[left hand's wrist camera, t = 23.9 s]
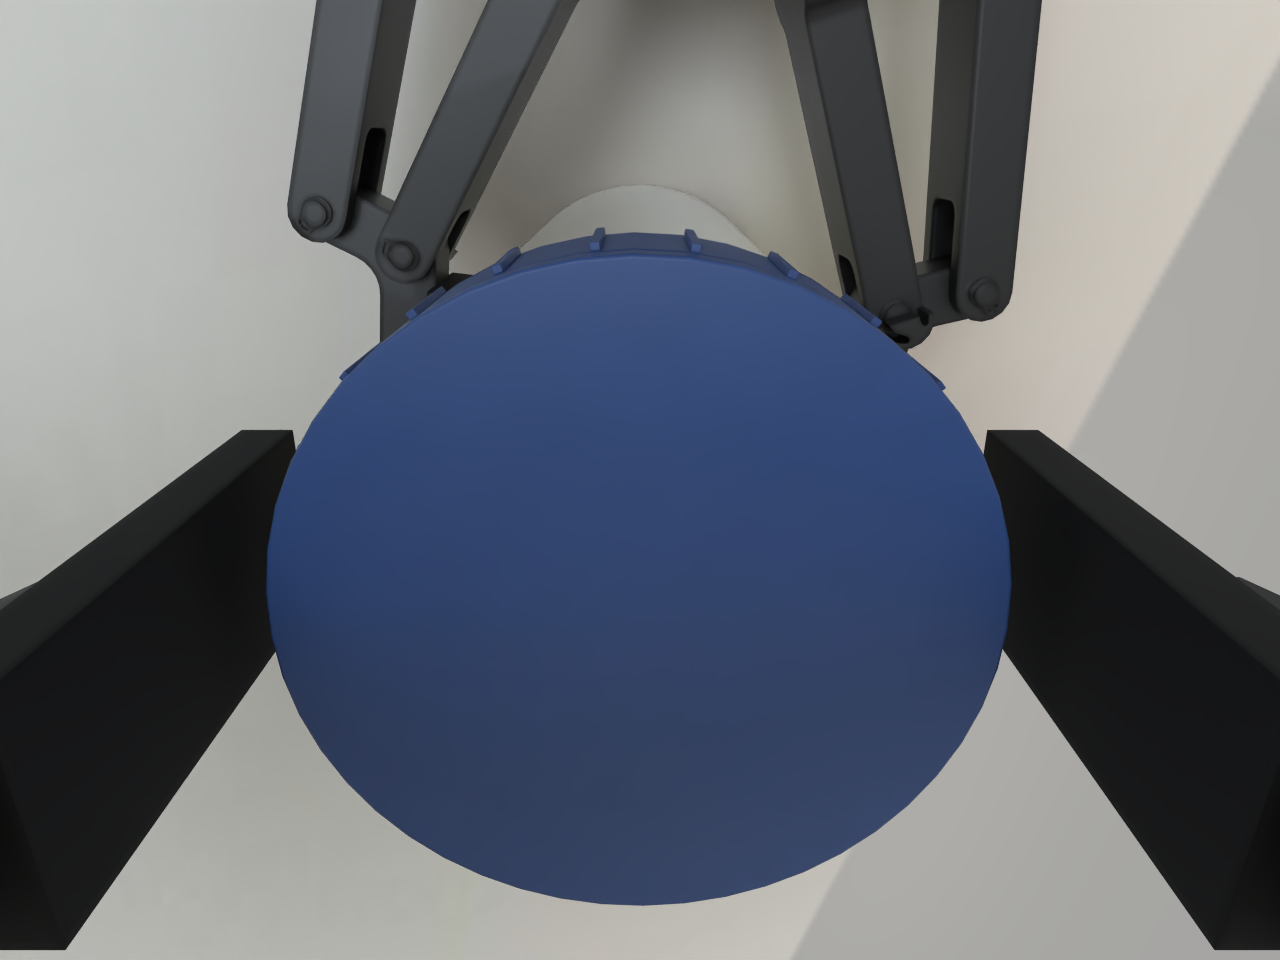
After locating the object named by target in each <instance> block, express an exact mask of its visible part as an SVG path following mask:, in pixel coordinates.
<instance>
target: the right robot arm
mask: <svg viewBox="0 0 1280 960" xmlns="http://www.w3.org/2000/svg"><path fill="white" fill-rule="evenodd" d="M774 1H775V6H776V10H777V14H778V17H779V20H780V23H781V25H782V27H783V28H784V31H785V34H786V38H787V42H788V47H789V51H790V56H791V60H792V65H793V70H794V74H795V79H796V83H797V88H798V93H799V97H800V102H801V106H802V111H803V115H804V120H805V125H806V129H807V134H808V138H809V143H810V147H811V152H812V157H813V161H814V166H815V170H816V175H817V179H818V184H819V189H820V193H821V198H822V202H823V207H824V212H825V216H826V221H827V225H828V230H829V234H830V239H831V244H832V248H833V253H834V257H835V262H836V266H837V271H838V276H839V280H840V285H841V289H842V294H843V295H844V294H845V293H846V294H847V295H849V296H850V297H851V298H852V299H854V300H855V301H856V302H858V303H859V304H860V305H861V306H863V307H864V308H865V309H867V310H868V311H869V312H870V313H872V314H873V315H874V316H876V317H877V318H878V319H879V320H881V321H882V323H881V324H880V326H879V327H878V329H879V330H881V331H882V332H883V333H884V334H886V335H887V336H888V337H889V338H890V339H892V340H893V341H894V342H895V343H896V344H897V345H898V346H899V347H900V348H901V349H902V350H904V351H905V352H906V353H907V351H908V349H909V348H913V347H915V346H917V345H919V344H921V343H922V342H923V341H924V340H925V339H926V338H927V337H928V336H929V335H930V332H931V330H932V328H933V327H935V326H938V325H942V324H947V323H951V322H956V321H960V320H964V319H970V320H974V321H981V322H982V321H986V320H990V319H993V318H994V317H996V316H997V315H999V314H1000V313H1002V312H1003V310H1004V309H1005V308H1006V306H1007V305H1008V304H1009V301H1010V298H1011V295H1012V289H1013V279H1014V270H1015V260H1016V250H1017V240H1018V230H1019V220H1020V210H1021V201H1022V191H1023V181H1024V171H1025V161H1026V151H1027V142H1028V132H1029V122H1030V112H1031V102H1032V92H1033V82H1034V73H1035V63H1036V53H1037V43H1038V33H1039V23H1040V14H1041V4H1042V0H939V16H938V32H937V48H936V64H935V80H934V96H933V112H932V128H931V144H930V160H929V176H928V192H927V208H926V224H925V240H924V256H923V261H922V262H918V263H915V258H914V253H913V248H912V242H911V237H910V231H909V226H908V221H907V215H906V210H905V204H904V199H903V193H902V188H901V183H900V177H899V172H898V166H897V161H896V156H895V150H894V145H893V139H892V134H891V128H890V123H889V118H888V112H887V107H886V101H885V96H884V91H883V85H882V80H881V74H880V69H879V63H878V58H877V53H876V47H875V42H874V36H873V31H872V26H871V20H870V15H869V9H868V3H867V0H774ZM578 2H579V0H488V2H487V4H486V6H485V8H484V10H483V12H482V15H481V17H480V19H479V21H478V23H477V25H476V28H475V30H474V32H473V34H472V36H471V38H470V40H469V43H468V45H467V47H466V49H465V51H464V53H463V56H462V58H461V60H460V62H459V64H458V66H457V69H456V71H455V73H454V75H453V77H452V79H451V82H450V84H449V86H448V88H447V90H446V92H445V94H444V97H443V99H442V101H441V103H440V105H439V107H438V110H437V112H436V114H435V116H434V118H433V120H432V123H431V125H430V127H429V129H428V131H427V133H426V136H425V138H424V140H423V142H422V144H421V146H420V148H419V151H418V153H417V155H416V157H415V159H414V161H413V164H412V166H411V168H410V170H409V172H408V174H407V177H406V179H405V181H404V183H403V185H402V187H401V190H400V192H399V194H398V196H397V198H396V200H395V201H393V200H391V199H389V198H387V197H385V196H383V195H381V191H382V185H383V180H384V174H385V169H386V163H387V158H388V152H389V147H390V141H391V136H392V130H393V125H394V119H395V114H396V108H397V103H398V97H399V92H400V87H401V81H402V76H403V70H404V65H405V59H406V54H407V48H408V43H409V37H410V32H411V26H412V21H413V15H414V10H415V4H416V0H317V2H316V9H315V16H314V23H313V30H312V37H311V44H310V51H309V57H308V64H307V71H306V78H305V85H304V92H303V99H302V106H301V113H300V120H299V127H298V134H297V141H296V148H295V155H294V162H293V169H292V176H291V183H290V190H289V196H288V203H287V206H288V217H289V219H290V222H291V224H292V226H293V228H294V229H295V230H296V231H297V232H298V233H299V234H300V235H301V236H302V237H304V238H306V239H308V240H310V241H312V242H322V243H324V242H327V243H329V244H331V245H333V246H335V247H337V248H339V249H341V250H343V251H345V252H347V253H349V254H351V255H353V256H356V257H357V258H359V259H360V260H362V261H364V262H365V263H366V264H367V265H368V266H369V267H370V268H371V269H372V271H373V273H374V274H375V276H376V278H377V280H378V283H379V287H380V342H383V341H384V340H386V339H387V338H388V337H389V336H391V335H392V334H393V333H394V332H396V331H397V330H398V329H399V328H400V327H402V326H403V325H404V324H405V323H407V322H408V321H409V320H410V319H409V318H408V317H407V316H406V313H407V312H408V311H410V310H411V309H412V308H414V307H415V306H416V305H417V304H419V303H420V302H421V301H423V300H424V299H425V298H427V297H428V296H429V295H430V294H432V293H433V292H434V291H436V290H437V289H438V288H440V287H441V286H442V287H443V288H444V289H445V291H446V292H447V291H449V290H450V289H451V288H453V287H454V286H455V285H457V284H458V283H460V282H462V281H464V280H466V279H467V278H469V277H471V276H473V275H469V274H460V273H451V274H450V275H449V260H451V259H452V258H453V257H454V255H455V254H456V253H457V252H458V251H456V250H455V248H456V246H457V244H458V242H459V240H460V238H461V235H462V233H463V231H464V229H465V227H466V225H467V223H468V221H469V219H470V217H471V215H472V213H473V211H474V209H475V207H476V205H477V203H478V201H479V199H480V197H481V195H482V193H483V191H484V189H485V187H486V185H487V183H488V181H489V179H490V177H491V175H492V173H493V171H494V169H495V167H496V165H497V163H498V161H499V159H500V157H501V155H502V153H503V151H504V149H505V147H506V145H507V143H508V141H509V139H510V137H511V135H512V133H513V131H514V129H515V127H516V125H517V123H518V121H519V119H520V117H521V115H522V113H523V111H524V109H525V107H526V105H527V103H528V101H529V99H530V97H531V95H532V93H533V91H534V89H535V87H536V85H537V83H538V81H539V79H540V77H541V75H542V73H543V71H544V69H545V67H546V65H547V63H548V61H549V59H550V57H551V55H552V53H553V51H554V49H555V47H556V45H557V43H558V41H559V39H560V36H561V34H562V32H563V30H564V28H565V26H566V24H567V22H568V20H569V18H570V16H571V14H572V12H573V10H574V9H575V7H576V5H577V3H578Z"/></svg>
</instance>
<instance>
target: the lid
mask: <svg viewBox="0 0 1280 960" xmlns="http://www.w3.org/2000/svg"><path fill="white" fill-rule="evenodd" d="M406 316H407V317H408V318H409V319H410V320H409V321H408V322H407V323H405V324H404V325H403V326H402V327H400V328H399V329H398V330H397V331H396V332H394V333H393V334H392V335H391V336H389V337H388V338H387V339H386V340H384V341H383V342H380V343H379V344H378V345H376V346H375V347H374V348H373V349H371V350H370V351H369V352H368V353H366V354H365V355H364V356H363V357H361V358H360V359H359V360H358V361H356V362H355V363H354V364H353V365H351V366H350V367H349V368H348V369H346V370H345V371H344V372H343V373H342V375H341V376H340V377H339V378H340V379H341V380H342V382H341V383H340V385H339V386H338V387H337V389H336V390H335V391H334V393H333V394H332V395H331V397H330V398H329V399H328V401H327V402H326V403H325V405H324V406H323V407H322V409H321V410H320V411H319V413H318V414H317V415H316V417H315V418H314V419H313V421H312V423H311V424H310V426H309V428H308V430H307V432H306V434H305V436H304V438H303V440H302V441H301V443H300V444H299V445H298V447H297V450H296V453H295V455H294V456H293V458H292V460H291V462H290V465H289V468H288V470H287V473H286V476H285V479H284V482H283V485H282V488H281V491H280V493H279V496H278V499H277V502H276V505H275V510H274V515H273V521H272V526H271V532H270V537H269V543H268V548H267V579H266V597H267V605H268V613H269V621H270V629H271V636H272V640H273V644H274V647H275V651H276V654H277V658H278V662H279V665H280V669H281V672H282V676H283V679H284V681H285V683H286V685H287V688H288V690H289V692H290V695H291V697H292V699H293V702H294V704H295V706H296V708H297V711H298V713H299V715H300V717H301V718H302V720H303V722H304V723H305V725H306V727H307V728H308V730H309V732H310V733H311V735H312V736H313V738H314V740H315V741H316V743H317V745H318V746H319V748H320V750H321V751H322V752H323V753H324V755H325V756H326V757H327V758H328V760H329V761H330V762H331V763H332V765H333V766H334V767H335V768H336V770H337V771H338V772H339V773H340V775H341V776H342V777H343V778H344V780H345V781H346V782H347V783H348V784H349V785H350V786H351V787H352V788H353V789H354V790H355V791H356V792H357V793H358V794H359V795H360V796H361V797H362V798H363V799H364V800H365V801H366V802H367V803H368V804H369V805H370V806H371V807H372V808H373V809H374V810H375V811H377V812H378V813H379V814H381V815H382V816H383V817H384V818H386V819H387V820H388V821H390V822H391V823H392V824H393V825H395V826H396V827H397V828H399V829H400V830H401V831H403V832H404V833H405V834H406V835H408V836H409V837H411V838H412V839H414V840H416V841H417V842H419V843H421V844H422V845H424V846H426V847H427V848H429V849H431V850H432V851H434V852H435V853H437V854H439V855H440V856H442V857H444V858H446V859H448V860H450V861H452V862H454V863H456V864H459V865H461V866H463V867H465V868H467V869H469V870H471V871H474V872H476V873H478V874H480V875H482V876H485V877H488V878H491V879H494V880H497V881H500V882H502V883H505V884H508V885H511V886H514V887H517V888H520V889H523V890H528V891H532V892H536V893H540V894H544V895H549V896H553V897H557V898H561V899H569V900H576V901H583V902H591V903H598V904H614V905H640V906H645V905H662V904H679V903H689V902H695V901H702V900H708V899H714V898H721V897H726V896H730V895H734V894H738V893H742V892H746V891H749V890H753V889H757V888H761V887H765V886H768V885H770V884H773V883H776V882H778V881H781V880H784V879H786V878H789V877H792V876H795V875H797V874H800V873H803V872H805V871H807V870H809V869H811V868H813V867H815V866H817V865H819V864H821V863H823V862H825V861H827V860H829V859H831V858H833V857H835V856H837V855H839V854H841V853H843V852H844V851H846V850H848V849H849V848H851V847H852V846H854V845H855V844H857V843H859V842H860V841H862V840H863V839H865V838H866V837H868V836H869V835H871V834H873V833H874V832H876V831H877V830H878V829H880V828H881V827H882V826H883V825H884V824H886V823H887V822H888V821H889V820H891V819H892V818H893V817H894V816H896V815H897V814H898V813H899V812H900V811H902V810H903V809H904V808H905V807H907V806H908V805H909V804H910V803H911V802H912V801H913V800H914V799H915V798H916V797H917V796H918V795H919V794H920V793H921V792H922V790H924V788H925V787H926V786H927V785H928V784H929V783H930V782H931V781H932V780H933V779H934V778H935V777H936V776H937V775H938V774H939V772H940V771H941V770H942V768H943V767H944V766H945V764H946V763H947V762H948V760H949V759H950V758H951V756H952V755H953V754H954V752H955V751H956V750H957V749H958V747H959V746H960V745H961V743H962V741H963V740H964V738H965V736H966V734H967V733H968V731H969V729H970V727H971V726H972V724H973V722H974V720H975V719H976V717H977V715H978V713H979V712H980V710H981V708H982V706H983V704H984V701H985V699H986V696H987V694H988V691H989V689H990V686H991V684H992V681H993V679H994V676H995V674H996V671H997V669H998V665H999V661H1000V657H1001V653H1002V649H1003V645H1004V640H1005V636H1006V632H1007V628H1008V618H1009V607H1010V597H1011V586H1012V583H1011V566H1010V548H1009V538H1008V533H1007V529H1006V524H1005V520H1004V515H1003V510H1002V506H1001V501H1000V497H999V494H998V491H997V489H996V486H995V484H994V481H993V478H992V476H991V473H990V471H989V468H988V465H987V463H986V460H985V458H984V455H983V453H982V451H981V449H980V448H979V446H978V444H977V442H976V441H975V439H974V437H973V435H972V434H971V432H970V430H969V428H968V427H967V425H966V423H965V422H964V420H963V418H962V416H961V415H960V413H959V411H958V410H957V409H956V408H955V406H954V405H953V404H952V403H951V401H950V400H949V399H948V398H947V396H946V395H945V394H944V393H943V391H942V390H944V389H945V388H946V387H945V386H944V384H943V383H942V382H941V381H940V380H939V379H938V378H937V377H935V376H934V375H933V374H932V373H931V372H929V371H928V370H927V369H926V368H924V367H923V366H922V365H921V364H920V363H918V362H917V361H916V360H915V359H913V358H912V357H911V356H910V355H909V354H907V353H906V352H905V351H904V350H902V349H901V348H900V347H899V346H898V345H897V344H896V343H895V342H894V341H893V340H892V339H890V338H889V337H888V336H887V335H886V334H884V333H883V332H882V331H881V330H879V329H878V327H879V326H880V324H881V323H882V321H881V320H879V319H878V318H877V317H876V316H874V315H873V314H872V313H870V312H869V311H868V310H867V309H865V308H864V307H863V306H861V305H860V304H859V303H858V302H856V301H855V300H854V299H852V298H851V297H850V296H849V295H847V294H846V293H845V294H844V295H843V296H842V297H841V299H840V298H839V297H837V296H836V295H834V294H833V293H832V292H830V291H829V290H827V289H826V288H824V287H823V286H821V285H820V284H819V283H817V282H816V281H814V280H813V279H811V278H809V277H807V276H805V275H803V274H801V273H799V272H798V271H797V270H796V269H794V268H793V267H792V266H791V265H790V264H789V263H788V262H786V261H785V260H784V259H783V258H782V257H781V256H780V255H778V254H777V253H774V252H772V251H771V252H770V253H769V256H768V257H765V256H762V255H759V254H757V253H754V252H751V251H748V250H745V249H742V248H739V247H736V246H733V245H730V244H727V243H722V242H716V241H711V240H706V239H701V238H698V237H697V235H696V233H695V231H694V230H691V229H685V233H684V235H677V234H658V233H640V232H630V233H618V234H606V235H605V227H602V228H596V229H595V232H594V234H593V236H585V237H580V238H576V239H571V240H567V241H562V242H558V243H553V244H549V245H544V246H540V247H537V248H535V249H532V250H529V251H527V252H524V253H521V252H520V249H519V247H516V248H513V249H511V250H510V251H509V252H507V253H506V254H505V255H504V256H503V257H502V258H501V259H500V260H498V261H497V262H496V263H495V264H493V265H492V266H490V267H488V268H486V269H484V270H482V271H480V272H479V273H477V274H475V275H473V276H471V277H469V278H467V279H466V280H464V281H462V282H460V283H458V284H457V285H455V286H454V287H453V288H451V289H450V290H449V291H447V292H446V291H445V289H444V288H443V287H442V286H441V287H440V288H438V289H437V290H436V291H434V292H433V293H432V294H430V295H429V296H428V297H427V298H425V299H424V300H423V301H421V302H420V303H419V304H417V305H416V306H415V307H414V308H412V309H411V310H410V311H408V312H407V313H406Z"/></svg>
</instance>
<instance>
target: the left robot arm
mask: <svg viewBox="0 0 1280 960" xmlns="http://www.w3.org/2000/svg"><path fill="white" fill-rule="evenodd" d="M295 453H296V449H295V442H294V436H293V430H241V431H240V432H239V433H237V434H236V435H235V436H233V437H232V438H230V439H229V440H228V441H226V442H225V443H224V444H222V445H221V446H220V447H218V448H217V449H216V450H214V451H213V452H212V453H210V454H209V455H208V456H206V457H205V458H204V459H202V460H201V461H200V462H198V463H197V464H196V465H194V466H193V467H192V468H190V469H189V470H188V471H186V472H185V473H183V474H182V475H181V476H179V477H178V478H177V479H175V480H174V481H173V482H171V483H170V484H169V485H167V486H166V487H165V488H163V489H162V490H161V491H159V492H158V493H157V494H155V495H154V496H153V497H151V498H150V499H149V500H147V501H146V502H145V503H143V504H142V505H140V506H139V507H138V508H136V509H135V510H134V511H132V512H131V513H130V514H128V515H127V516H126V517H124V518H123V519H122V520H120V521H119V522H118V523H116V524H115V525H114V526H112V527H111V528H110V529H108V530H107V531H106V532H104V533H103V534H102V535H100V536H99V537H98V538H96V539H95V540H93V541H92V542H91V543H89V544H88V545H87V546H85V547H84V548H83V549H81V550H80V551H79V552H77V553H76V554H75V555H73V556H72V557H71V558H69V559H68V560H67V561H65V562H64V563H63V564H61V565H60V566H59V567H57V568H56V569H55V570H53V571H52V572H51V573H49V574H48V575H46V576H45V577H44V578H42V579H41V580H40V581H38V582H36V583H34V584H32V585H30V586H28V587H26V588H23V589H21V590H19V591H17V592H15V593H13V594H10V595H8V596H6V597H4V598H2V599H0V950H66V949H67V947H68V946H69V944H70V943H71V941H72V940H73V939H74V937H75V936H76V934H77V933H78V931H79V930H80V929H81V927H82V926H83V924H84V923H85V922H86V920H87V919H88V917H89V916H90V914H91V913H92V912H93V910H94V909H95V907H96V906H97V904H98V903H99V902H100V900H101V899H102V897H103V896H104V895H105V893H106V892H107V890H108V889H109V887H110V886H111V885H112V883H113V882H114V880H115V879H116V877H117V876H118V875H119V873H120V872H121V870H122V869H123V868H124V866H125V865H126V863H127V862H128V860H129V859H130V858H131V856H132V855H133V853H134V852H135V850H136V849H137V848H138V846H139V845H140V843H141V842H142V841H143V839H144V838H145V836H146V835H147V833H148V832H149V831H150V829H151V828H152V826H153V825H154V823H155V822H156V821H157V819H158V818H159V816H160V815H161V814H162V812H163V811H164V809H165V808H166V806H167V805H168V804H169V802H170V801H171V799H172V798H173V796H174V795H175V794H176V792H177V791H178V789H179V788H180V787H181V785H182V784H183V782H184V781H185V779H186V778H187V777H188V775H189V774H190V772H191V771H192V769H193V768H194V767H195V765H196V764H197V762H198V761H199V760H200V758H201V757H202V755H203V754H204V752H205V751H206V750H207V748H208V747H209V745H210V744H211V742H212V741H213V740H214V738H215V737H216V735H217V734H218V733H219V731H220V730H221V728H222V727H223V725H224V724H225V723H226V721H227V720H228V718H229V717H230V715H231V714H232V713H233V711H234V710H235V708H236V707H237V706H238V704H239V703H240V701H241V700H242V698H243V697H244V696H245V694H246V693H247V691H248V690H249V688H250V687H251V686H252V684H253V683H254V681H255V680H256V679H257V677H258V676H259V674H260V673H261V671H262V670H263V669H264V667H265V666H266V664H267V663H268V661H269V660H270V659H271V657H272V656H273V654H274V653H275V652H276V651H275V647H274V644H273V640H272V636H271V629H270V621H269V613H268V605H267V597H266V579H267V548H268V543H269V537H270V532H271V526H272V521H273V515H274V510H275V505H276V502H277V499H278V496H279V493H280V491H281V488H282V485H283V482H284V479H285V476H286V473H287V470H288V468H289V465H290V462H291V460H292V458H293V456H294V455H295ZM984 458H985V460H986V463H987V465H988V468H989V471H990V473H991V476H992V478H993V481H994V484H995V486H996V489H997V491H998V494H999V497H1000V501H1001V506H1002V510H1003V515H1004V520H1005V524H1006V529H1007V533H1008V538H1009V548H1010V566H1011V583H1012V586H1011V597H1010V607H1009V618H1008V628H1007V632H1006V636H1005V640H1004V645H1003V650H1004V652H1005V653H1006V654H1007V656H1008V657H1009V659H1010V660H1011V661H1012V663H1013V664H1014V666H1015V667H1016V669H1017V670H1018V671H1019V673H1020V674H1021V676H1022V677H1023V679H1024V680H1025V681H1026V683H1027V684H1028V686H1029V687H1030V688H1031V690H1032V691H1033V693H1034V694H1035V696H1036V697H1037V698H1038V700H1039V701H1040V703H1041V704H1042V706H1043V707H1044V708H1045V710H1046V711H1047V713H1048V714H1049V715H1050V717H1051V718H1052V720H1053V721H1054V723H1055V724H1056V725H1057V727H1058V728H1059V730H1060V731H1061V733H1062V734H1063V735H1064V737H1065V738H1066V740H1067V741H1068V742H1069V744H1070V745H1071V747H1072V748H1073V750H1074V751H1075V752H1076V754H1077V755H1078V757H1079V758H1080V759H1081V761H1082V762H1083V764H1084V765H1085V767H1086V768H1087V769H1088V771H1089V772H1090V774H1091V775H1092V777H1093V778H1094V779H1095V781H1096V782H1097V784H1098V785H1099V787H1100V788H1101V789H1102V791H1103V792H1104V794H1105V795H1106V796H1107V798H1108V799H1109V801H1110V802H1111V804H1112V805H1113V806H1114V808H1115V809H1116V811H1117V812H1118V814H1119V815H1120V816H1121V818H1122V819H1123V821H1124V822H1125V823H1126V825H1127V826H1128V828H1129V829H1130V831H1131V832H1132V833H1133V835H1134V836H1135V838H1136V839H1137V841H1138V842H1139V843H1140V845H1141V846H1142V848H1143V849H1144V850H1145V852H1146V853H1147V855H1148V856H1149V858H1150V859H1151V860H1152V862H1153V863H1154V865H1155V866H1156V868H1157V869H1158V870H1159V872H1160V873H1161V875H1162V876H1163V877H1164V879H1165V880H1166V882H1167V883H1168V885H1169V886H1170V887H1171V889H1172V890H1173V892H1174V893H1175V895H1176V896H1177V897H1178V899H1179V900H1180V902H1181V903H1182V904H1183V906H1184V907H1185V909H1186V910H1187V912H1188V913H1189V914H1190V916H1191V917H1192V919H1193V920H1194V921H1195V923H1196V924H1197V926H1198V927H1199V929H1200V930H1201V931H1202V933H1203V934H1204V936H1205V937H1206V939H1207V940H1208V941H1209V943H1210V944H1211V946H1212V947H1213V949H1214V950H1280V595H1278V594H1275V593H1273V592H1271V591H1269V590H1267V589H1264V588H1262V587H1260V586H1258V585H1256V584H1254V583H1251V582H1249V581H1247V580H1245V579H1243V578H1240V577H1235V576H1234V575H1232V574H1231V573H1229V572H1228V571H1227V570H1225V569H1224V568H1223V567H1221V566H1220V565H1219V564H1217V563H1216V562H1215V561H1213V560H1212V559H1211V558H1209V557H1208V556H1207V555H1205V554H1204V553H1203V552H1201V551H1200V550H1199V549H1197V548H1196V547H1195V546H1193V545H1192V544H1190V543H1189V542H1188V541H1186V540H1185V539H1184V538H1182V537H1181V536H1180V535H1178V534H1177V533H1176V532H1174V531H1173V530H1172V529H1170V528H1169V527H1168V526H1166V525H1165V524H1164V523H1162V522H1161V521H1160V520H1158V519H1157V518H1156V517H1154V516H1153V515H1152V514H1150V513H1149V512H1147V511H1146V510H1145V509H1144V508H1142V507H1141V506H1139V505H1138V504H1137V503H1135V502H1134V501H1133V500H1131V499H1130V498H1129V497H1127V496H1126V495H1125V494H1123V493H1122V492H1121V491H1119V490H1118V489H1117V488H1115V487H1114V486H1113V485H1111V484H1110V483H1109V482H1107V481H1106V480H1104V479H1103V478H1102V477H1101V476H1099V475H1098V474H1097V473H1095V472H1094V471H1092V470H1091V469H1090V468H1088V467H1087V466H1086V465H1084V464H1083V463H1082V462H1080V461H1079V460H1078V459H1076V458H1075V457H1074V456H1072V455H1071V454H1070V453H1068V452H1067V451H1066V450H1064V449H1063V448H1062V447H1060V446H1059V445H1058V444H1056V443H1055V442H1054V441H1052V440H1051V439H1050V438H1048V437H1047V436H1045V435H1044V434H1043V433H1041V432H1040V431H1039V430H987V436H986V442H985V449H984Z"/></svg>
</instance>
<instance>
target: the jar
mask: <svg viewBox="0 0 1280 960" xmlns="http://www.w3.org/2000/svg"><path fill="white" fill-rule="evenodd" d="M602 227H605V235H606V234H618V233H630V232H640V233H658V234H677V235H684V233H685V229H691V230H694V231H695V233H696V235H697V237H698V238H701V239H706V240H711V241H716V242H722V243H727V244H730V245H733V246H736V247H739V248H742V249H745V250H748V251H751V252H754V253H757V254H759V255H762V256H765V257H767V256H766V255H764V254H763V253H762V252H761V251H760V250H759V249H758V248H757V247H756V246H755V245H754V244H753V243H752V242H751V241H750V240H749V239H748V238H747V237H746V236H745V235H744V234H743V233H742V232H741V231H740V230H739V229H738V228H737V227H736V226H735V225H734V224H732V223H731V222H730V221H729V220H728V219H727V218H726V217H725V216H724V215H723V214H721V213H720V212H719V211H717V210H716V209H714V208H713V207H711V206H710V205H708V204H707V203H705V202H703V201H701V200H699V199H697V198H695V197H693V196H691V195H689V194H686V193H683V192H680V191H677V190H674V189H670V188H664V187H659V186H650V185H630V186H619V187H614V188H610V189H606V190H601V191H599V192H596V193H593V194H591V195H588V196H585V197H583V198H581V199H580V200H578V201H576V202H574V203H572V204H571V205H569V206H567V207H566V208H565V209H563V210H562V211H561V212H559V213H558V214H557V215H555V216H554V217H553V218H552V219H551V220H550V221H549V222H548V223H547V224H546V225H545V226H543V227H542V228H541V229H540V230H539V231H538V232H537V233H536V234H535V235H534V236H533V237H532V238H531V239H530V240H529V241H528V242H527V243H526V244H525V245H524V246H523V247H522V248H521V249H520V252H521V253H524V252H527V251H529V250H532V249H535V248H537V247H540V246H544V245H549V244H553V243H558V242H562V241H567V240H571V239H576V238H580V237H585V236H593V234H594V232H595V229H596V228H602Z"/></svg>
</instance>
